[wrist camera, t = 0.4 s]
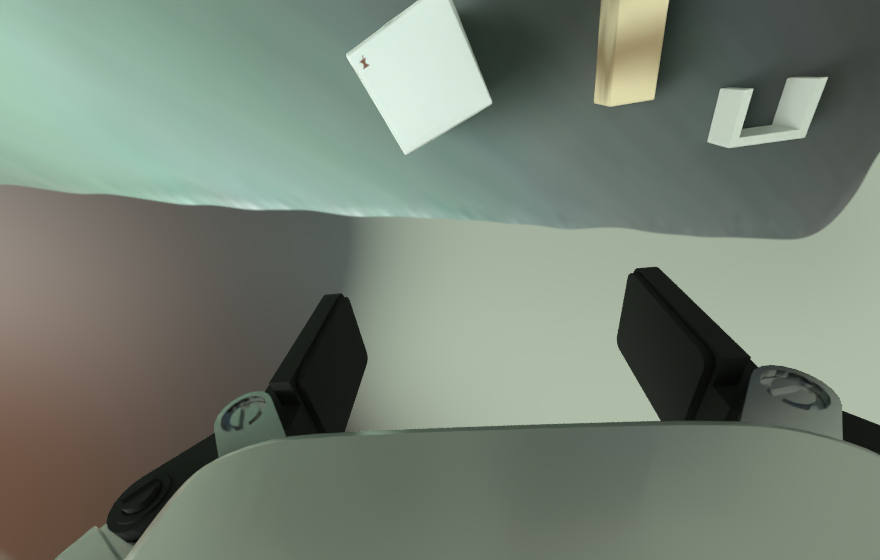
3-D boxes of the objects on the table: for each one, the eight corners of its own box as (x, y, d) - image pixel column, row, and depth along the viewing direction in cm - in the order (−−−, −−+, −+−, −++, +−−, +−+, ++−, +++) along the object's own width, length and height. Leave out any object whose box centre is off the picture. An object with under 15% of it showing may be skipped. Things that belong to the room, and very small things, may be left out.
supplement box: (419, 133, 35) (402, 159, 24) (381, 58, 32) (340, 51, 21) (484, 95, 33) (495, 105, 22) (449, 11, 30) (443, -24, 19)
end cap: (720, 88, 32) (744, 89, 29) (795, 76, 31) (828, 77, 28) (707, 142, 34) (728, 148, 31) (776, 132, 33) (804, 137, 31)
